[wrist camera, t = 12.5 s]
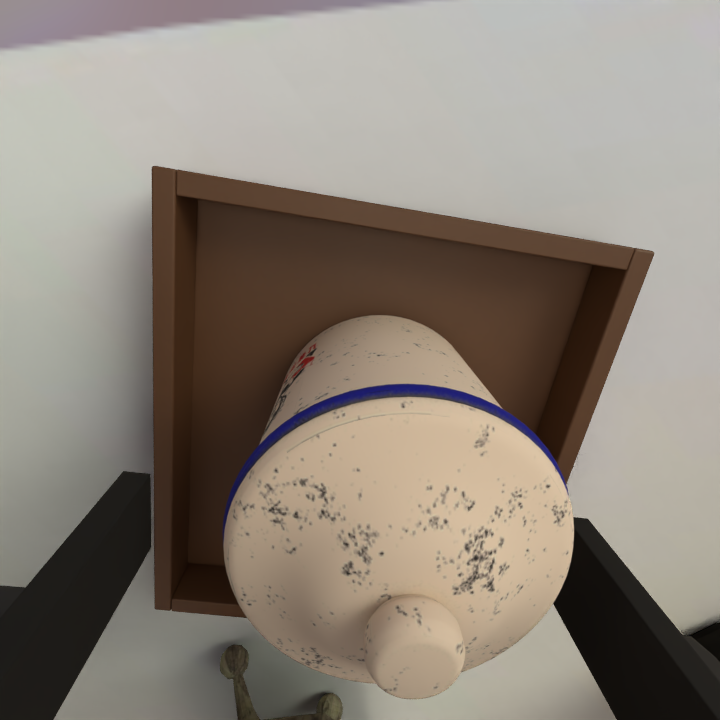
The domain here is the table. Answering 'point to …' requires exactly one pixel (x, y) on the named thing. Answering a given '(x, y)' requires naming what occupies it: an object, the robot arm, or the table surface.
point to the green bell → (233, 668)
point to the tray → (337, 304)
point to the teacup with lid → (394, 514)
